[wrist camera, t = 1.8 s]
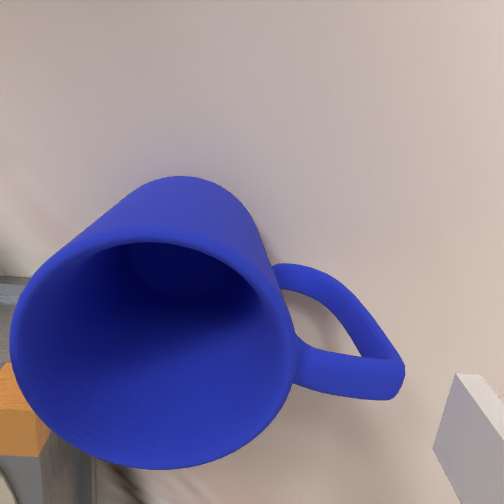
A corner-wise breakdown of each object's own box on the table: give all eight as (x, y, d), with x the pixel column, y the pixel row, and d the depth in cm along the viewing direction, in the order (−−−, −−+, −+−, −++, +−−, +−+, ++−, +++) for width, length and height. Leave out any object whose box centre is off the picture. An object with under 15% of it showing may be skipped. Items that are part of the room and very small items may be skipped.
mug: (322, 341, 25) (373, 504, 16) (91, 300, 24) (1, 452, 15) (370, 193, 22) (466, 288, 13) (109, 137, 21) (12, 199, 12)
